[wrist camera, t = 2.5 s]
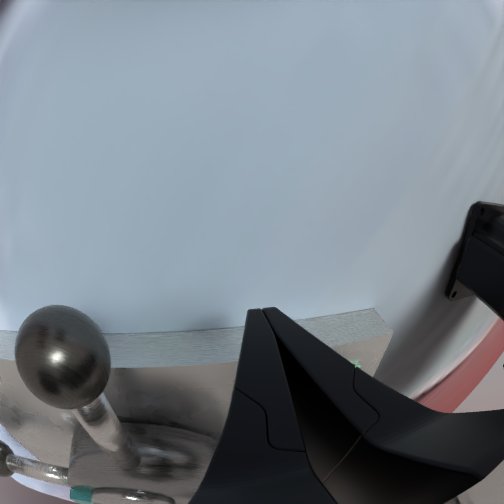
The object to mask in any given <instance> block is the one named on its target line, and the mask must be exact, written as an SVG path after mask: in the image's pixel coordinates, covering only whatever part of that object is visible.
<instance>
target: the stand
mask: <svg viewBox="0 0 504 504" xmlns="http://www.w3.org/2000/svg"><path fill="white" fill-rule="evenodd" d="M295 322H296V323H297V324H299V325H300V326H302V327H303V328H304V329H306V330H307V331H308V332H310V333H311V334H312V335H314V336H315V337H317V338H318V339H319V340H321V341H322V342H323V343H325V344H326V345H328V346H329V347H330V348H332V349H333V350H335V351H336V352H337V353H339V354H340V355H342V356H343V357H344V358H346V359H347V360H349V361H350V362H351V363H353V364H354V365H355V367H359V368H360V369H362V370H363V371H364V372H366V373H367V374H369V375H370V376H372V377H373V376H374V374H375V372H376V370H377V368H378V366H379V364H380V362H381V360H382V358H383V355H384V353H385V351H386V349H387V347H388V345H389V342H390V340H391V338H392V335H393V333H394V332H393V331H392V330H391V328H390V327H389V326H388V325H387V323H386V322H385V321H384V320H383V319H382V317H381V316H380V315H379V314H378V312H377V311H376V310H375V309H374V308H373V309H368V310H362V311H357V312H351V313H345V314H339V315H332V316H326V317H319V318H313V319H305V320H298V321H295ZM17 333H18V332H13V331H0V423H1V424H2V425H3V426H4V427H5V429H6V430H7V431H8V432H9V433H10V434H11V435H12V436H13V437H14V438H15V439H17V440H18V441H19V442H20V443H21V444H22V445H23V446H24V447H25V448H26V449H27V450H28V451H29V452H31V453H32V454H33V455H34V456H35V457H36V458H37V459H39V460H40V461H41V462H43V463H48V464H52V465H57V466H62V467H67V468H69V459H70V451H71V443H72V437H73V435H74V434H75V433H76V431H78V430H80V429H81V428H84V427H83V426H82V425H81V423H80V422H79V421H78V420H77V418H76V417H75V416H74V414H73V413H72V411H71V410H67V409H59V408H55V407H52V406H50V405H47V404H46V403H44V402H42V401H41V400H39V399H38V398H37V397H35V396H34V395H33V394H32V393H31V392H30V391H29V389H28V388H27V387H26V385H25V384H24V382H23V381H22V379H21V377H20V375H19V372H18V370H17V366H16V362H15V354H14V349H15V340H16V336H17ZM243 333H244V327H237V328H227V329H215V330H202V331H187V332H169V333H147V334H103V335H104V337H105V339H106V341H107V344H108V347H109V351H110V356H111V372H110V377H109V380H108V383H107V385H106V387H105V389H104V391H103V393H104V395H105V397H106V399H107V400H108V402H109V404H110V406H111V407H112V409H113V411H114V413H115V414H116V416H117V418H118V419H119V421H120V423H143V424H154V425H161V426H169V427H174V428H180V429H184V430H189V431H193V432H197V433H200V434H203V435H206V436H209V437H211V438H213V439H215V440H217V441H219V438H220V436H221V433H222V430H223V427H224V424H225V421H226V418H227V415H228V411H229V407H230V402H231V397H232V392H233V387H234V382H235V377H236V371H237V366H238V360H239V355H240V349H241V344H242V338H243Z"/></svg>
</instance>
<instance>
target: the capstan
mask: <svg viewBox="0 0 504 504" xmlns="http://www.w3.org/2000/svg"><path fill="white" fill-rule="evenodd" d="M14 354H15V362H16V366H17V370H18V372H19V375H20V377H21V379H22V381H23V382H24V384H25V385H26V387H27V388H28V389H29V391H30V392H31V393H32V394H33V395H34V396H35V397H37V398H38V399H39V400H41V401H42V402H44V403H46V404H47V405H50V406H52V407H55V408H59V409H67V410H71V411H72V413H73V414H74V416H75V417H76V418H77V420H78V421H79V422H80V423H81V425H82V426H83V427H84V428H81V429H80V430H78V431H76V433H75V434H74V435H73V437H72V443H71V451H70V459H69V468H67V467H62V466H57V465H52V464H48V463H43V462H39V461H35V460H31V459H28V458H24V457H21V456H17V455H14V453H13V451H12V450H11V449H10V447H9V446H8V445H7V444H5V443H4V442H3V441H1V440H0V476H1V477H8V476H11V475H13V474H14V472H16V473H19V474H22V475H25V476H28V477H32V478H35V479H39V480H43V481H46V482H50V483H55V484H59V485H63V486H68V487H71V488H72V489H73V490H72V489H70V499H72V500H73V501H75V502H78V503H83V504H188V503H189V501H190V500H191V498H192V497H193V496H194V494H195V493H196V491H197V489H198V488H199V486H200V484H201V482H202V480H203V478H204V476H205V473H206V471H207V469H208V466H209V464H210V461H211V459H212V456H213V454H214V451H215V448H216V446H217V443H218V441H217V440H215V439H213V438H211V437H209V436H206V435H203V434H200V433H197V432H193V431H189V430H184V429H180V428H174V427H169V426H161V425H154V424H143V423H120V421H119V419H118V418H117V416H116V414H115V413H114V411H113V409H112V407H111V406H110V404H109V402H108V400H107V399H106V397H105V395H104V393H103V391H104V389H105V387H106V385H107V383H108V380H109V377H110V372H111V356H110V351H109V347H108V344H107V341H106V339H105V337H104V335H103V333H102V332H101V330H100V329H99V327H98V326H97V325H96V324H95V323H94V321H92V320H91V319H90V318H89V317H88V316H87V315H85V314H84V313H82V312H80V311H79V310H77V309H74V308H71V307H68V306H63V305H51V306H46V307H43V308H40V309H38V310H36V311H35V312H33V313H32V314H30V315H29V316H28V317H27V318H26V319H25V321H24V322H23V323H22V325H21V327H20V328H19V331H18V333H17V336H16V340H15V349H14Z"/></svg>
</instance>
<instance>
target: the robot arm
mask: <svg viewBox="0 0 504 504" xmlns="http://www.w3.org/2000/svg"><path fill="white" fill-rule="evenodd" d="M473 294H474V295H476V296H477V297H478V298H479V299H480V300H481V301H482V302H483V303H485V304H486V305H487V306H488V307H489V308H490V309H491V310H492V311H493V312H494V313H495V314H497V315H498V316H499V317H500V318H501V319H502V320H503V321H504V205H503V204H496V203H489V202H481V201H478V202H477V203H476V204H475V205H474V208H473V211H472V215H471V219H470V223H469V226H468V230H467V233H466V237H465V240H464V243H463V246H462V249H461V252H460V255H459V258H458V261H457V264H456V267H455V270H454V272H453V275H452V278H451V280H450V283H449V286H448V288H447V291H446V293H445V297H446V298H447V299H448V300H449V301H453V300H457V299H460V298H463V297H467V296H470V295H473ZM503 367H504V365H503ZM188 504H504V409H500V410H492V411H480V412H466V413H442V412H438V411H435V410H432V409H430V408H427V407H425V406H423V405H421V404H420V403H418V402H416V401H414V400H412V399H410V398H408V397H406V396H404V395H402V394H401V393H399V392H397V391H395V390H393V389H392V388H390V387H388V386H386V385H385V384H383V383H381V382H379V381H378V380H376V379H375V378H373V377H372V376H370V375H369V374H367V373H366V372H364V371H363V370H362V369H360V368H359V367H355V365H354V364H353V363H351V362H350V361H349V360H347V359H346V358H344V357H343V356H342V355H340V354H339V353H337V352H336V351H335V350H333V349H332V348H330V347H329V346H328V345H326V344H325V343H323V342H322V341H321V340H319V339H318V338H317V337H315V336H314V335H312V334H311V333H310V332H308V331H307V330H306V329H304V328H303V327H302V326H300V325H299V324H297V323H296V322H295V321H293V320H292V319H291V318H289V317H288V316H287V315H285V314H284V313H283V312H281V311H280V310H279V309H277V308H276V307H268V308H263V309H262V310H261V309H259V308H258V309H249V310H248V311H247V316H246V322H245V327H244V333H243V338H242V344H241V349H240V355H239V360H238V366H237V371H236V377H235V382H234V387H233V392H232V397H231V402H230V407H229V411H228V415H227V418H226V421H225V424H224V427H223V430H222V433H221V436H220V438H219V441H218V443H217V446H216V448H215V451H214V454H213V456H212V459H211V461H210V464H209V466H208V469H207V471H206V473H205V476H204V478H203V480H202V482H201V484H200V486H199V488H198V489H197V491H196V493H195V494H194V496H193V497H192V498H191V500H190V501H189V503H188Z"/></svg>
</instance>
